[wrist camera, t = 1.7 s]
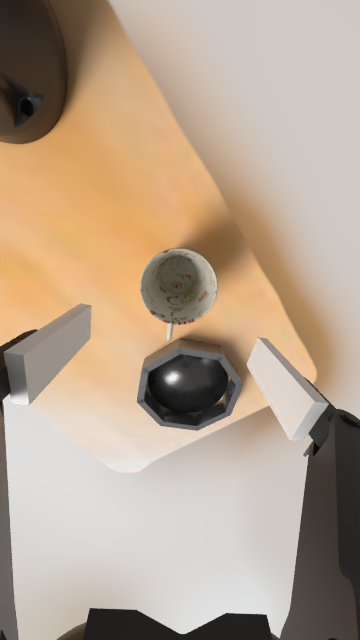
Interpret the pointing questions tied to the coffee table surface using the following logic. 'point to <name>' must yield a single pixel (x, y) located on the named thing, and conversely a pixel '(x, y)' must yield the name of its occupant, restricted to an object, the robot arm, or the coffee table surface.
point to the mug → (178, 287)
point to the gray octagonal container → (188, 385)
